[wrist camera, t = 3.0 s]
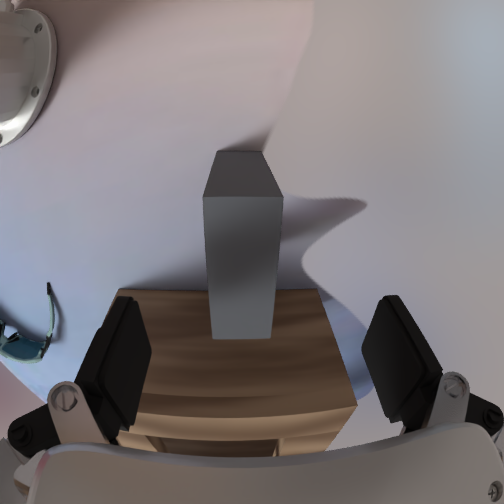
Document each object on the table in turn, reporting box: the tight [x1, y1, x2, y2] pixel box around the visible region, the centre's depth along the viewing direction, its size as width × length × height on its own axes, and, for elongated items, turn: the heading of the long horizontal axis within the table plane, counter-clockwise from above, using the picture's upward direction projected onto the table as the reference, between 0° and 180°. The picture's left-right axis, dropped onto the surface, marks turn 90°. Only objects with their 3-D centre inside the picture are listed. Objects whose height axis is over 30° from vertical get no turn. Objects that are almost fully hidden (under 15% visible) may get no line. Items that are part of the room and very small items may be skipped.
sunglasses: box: [0, 283, 55, 364], centre depth 23 cm, size 14×15×5 cm
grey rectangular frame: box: [203, 151, 284, 339], centre depth 16 cm, size 8×3×9 cm, turn 178°
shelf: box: [101, 289, 358, 457], centre depth 23 cm, size 20×18×14 cm
